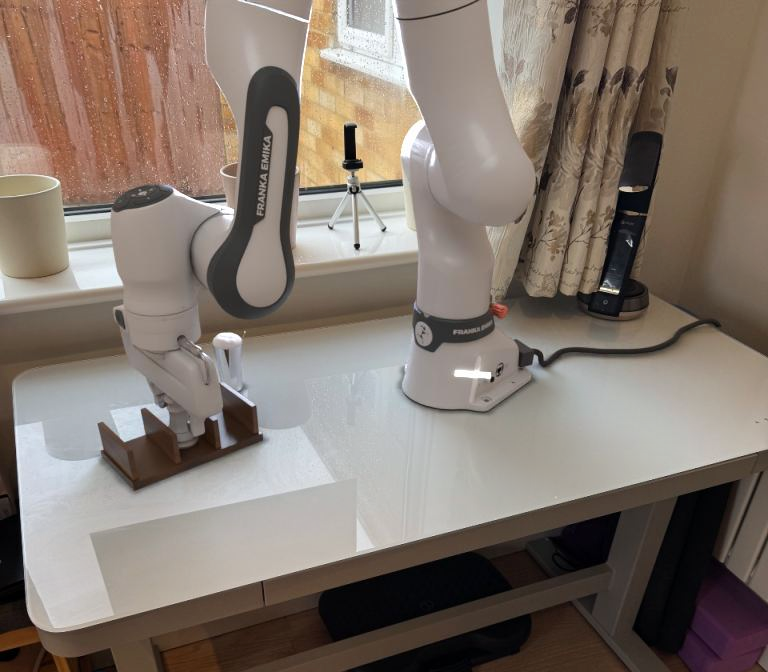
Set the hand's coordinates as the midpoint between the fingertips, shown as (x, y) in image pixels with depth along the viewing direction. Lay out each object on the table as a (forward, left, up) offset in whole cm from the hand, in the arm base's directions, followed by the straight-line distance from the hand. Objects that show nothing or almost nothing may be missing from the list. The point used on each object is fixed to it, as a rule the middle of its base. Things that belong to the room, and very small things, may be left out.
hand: (179, 418), depth 103 cm
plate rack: (0, 0, -5) cm, 5 cm away
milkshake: (-15, -11, -5) cm, 19 cm away
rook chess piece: (0, 0, -4) cm, 4 cm away
